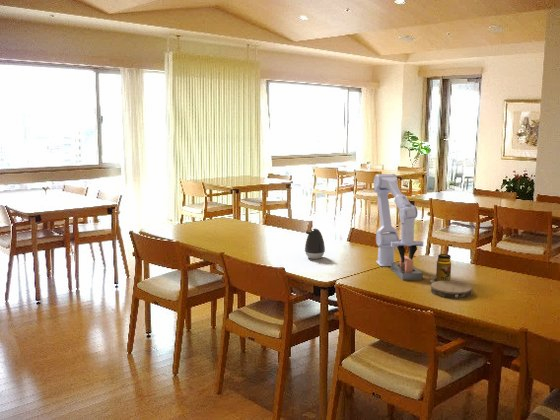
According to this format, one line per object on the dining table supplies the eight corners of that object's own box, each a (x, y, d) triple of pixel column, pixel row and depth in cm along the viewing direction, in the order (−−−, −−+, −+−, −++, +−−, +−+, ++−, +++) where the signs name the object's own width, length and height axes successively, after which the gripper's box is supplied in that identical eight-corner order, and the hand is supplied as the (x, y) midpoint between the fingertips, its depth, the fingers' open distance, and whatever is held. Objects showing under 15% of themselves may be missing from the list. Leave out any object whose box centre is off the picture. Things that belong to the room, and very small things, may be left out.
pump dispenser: (300, 256, 290) (301, 227, 288) (318, 254, 295) (318, 226, 292) (310, 261, 281) (311, 231, 279) (328, 258, 286) (329, 229, 283)
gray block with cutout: (390, 269, 266) (390, 263, 266) (409, 268, 267) (409, 262, 267) (402, 280, 249) (402, 273, 248) (422, 279, 249) (422, 273, 249)
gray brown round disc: (425, 287, 238) (425, 281, 238) (462, 287, 240) (462, 280, 239) (438, 300, 223) (439, 292, 222) (477, 299, 224) (478, 291, 224)
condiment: (449, 284, 242) (450, 257, 240) (429, 282, 246) (430, 255, 244) (452, 280, 248) (454, 254, 246) (433, 278, 252) (434, 251, 250)
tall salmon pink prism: (399, 268, 263) (399, 255, 262) (405, 268, 263) (406, 255, 262) (406, 274, 253) (406, 261, 252) (412, 273, 253) (413, 260, 252)
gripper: (394, 234, 250) (393, 264, 252) (426, 234, 251) (424, 263, 254) (389, 231, 257) (388, 260, 259) (420, 230, 258) (419, 259, 261)
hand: (406, 261), depth 257 cm, fingers closed on tall salmon pink prism, 3 cm apart
